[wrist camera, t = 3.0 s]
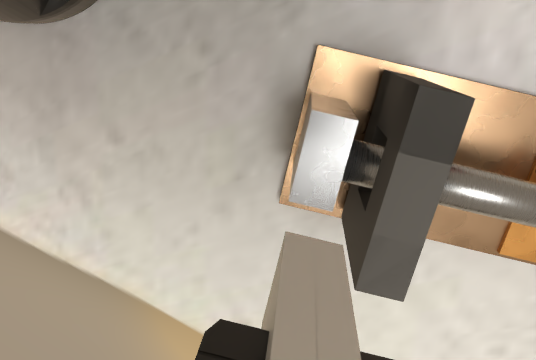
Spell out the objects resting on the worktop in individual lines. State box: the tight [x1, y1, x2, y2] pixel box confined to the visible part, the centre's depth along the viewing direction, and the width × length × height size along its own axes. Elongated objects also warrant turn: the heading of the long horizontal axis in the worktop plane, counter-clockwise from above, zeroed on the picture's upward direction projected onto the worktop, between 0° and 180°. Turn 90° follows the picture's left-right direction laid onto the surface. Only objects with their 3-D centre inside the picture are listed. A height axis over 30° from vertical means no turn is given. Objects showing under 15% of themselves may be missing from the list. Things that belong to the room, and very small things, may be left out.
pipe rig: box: [279, 45, 536, 265], centre depth 29 cm, size 23×11×9 cm, turn 77°
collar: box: [341, 70, 475, 302], centre depth 26 cm, size 2×10×10 cm, turn 167°
